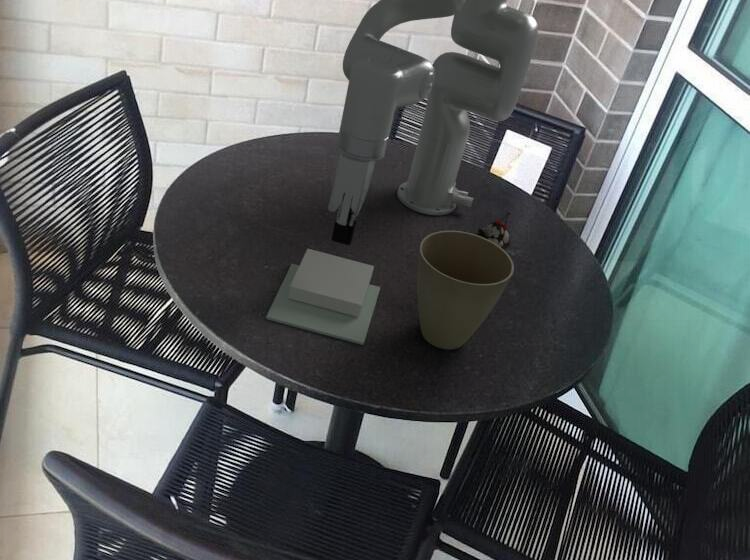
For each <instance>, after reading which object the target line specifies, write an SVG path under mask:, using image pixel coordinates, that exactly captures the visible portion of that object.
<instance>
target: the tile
mask: <svg viewBox="0 0 750 560" xmlns="http://www.w3.org/2000/svg"><path fill="white" fill-rule="evenodd" d="M374 268H375V265H372V264H367V263H363V262H359V261H356V260H353V259H349V258H344V257H342V256H338V255H334V254H330V253H326V252H322V251H319V250H314V249H312V248H311V249H310V248H307V249H306V251H305V253H304V254H303V258H302V259H301V262H300V265H299V268H298V270H297V272H296V275H295V277H294V279H293V281H292V283H291V285H290V290H289V295H288V298H289V299H293V300H296V301H300V302H304V303H307V304H311V305H315V306H319V307H322V308H326V309H330V310H333V311H337V312H341V313H345V314H348V315H352V316H356V317H359V315H360V312H361V309H362V305H363V302H364V299H365V296H366V293H367V290H368V287H369V284H370V283H371V280H372V276H373V272H374ZM370 285H371V284H370Z"/></svg>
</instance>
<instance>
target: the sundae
mask: <svg viewBox="0 0 750 560" xmlns="http://www.w3.org/2000/svg"><path fill="white" fill-rule="evenodd" d="M510 215H511V212H506V215H505V216H504V217H503V218H502V219H495V220H494V221H493V222H489V223H488V224H486V225H485V227H482V228H481V227H478V228H477V230H476V231H475V233H474V234H475V235H478V236H481V237H483V238H485V239H488V240H490V241H491V242H493V243H495V244H496V245H498V246H499V247H501V248H502V249H503V250H504V251H506V250H507V249H509V247H511V246H512V244H513V242H512V240H511V239H510V236H509V232H508V231H507V229H508V225H507V222H508V221H507V220H508V217H509V216H510ZM504 219H505V223H502V221H503V220H504Z"/></svg>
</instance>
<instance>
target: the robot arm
mask: <svg viewBox="0 0 750 560" xmlns="http://www.w3.org/2000/svg"><path fill="white" fill-rule="evenodd" d="M507 1H508V0H378V1H377V2H376V3H375V4H373V5H372V6H371V7H370V8H369V9H368V10H367V11H366V13H365V14H364V15H363V17H362V19H361V20H360V22H359V24H358V26H357V27H356V29H355V32H354V33H353V35H352V37H351V39H350V40H349V43H348V45H347V48H346V50H345V52H344V55H343V60H342V71H343V74H344V77H345V78H346V79H347V80H348V85H347V89H346V95H345V100H344V106H343V112H342V114H341V115H342V116H341V121H340V126H339V132H338V136H337V141H336V142H337V143H336V148H337V149H338V151H339V152H340V156H339V160H338V163H337V168H336V172H335V175H334V180H333V181H334V182H333V185H332V189H331V192H330V199H329V201H328V202H329V203H328V205H327V206H328V207H327V209H328V211H329V212H333V213H335V212H336V211H337V215H336V218H335V220H334V227H333V230H332V235H331V241H332V242H333V243H338V244H341V245H342V244H343V245H346V246H350V245H351V243H352V241H353V238H354V234H355V228H356V224H357V220H356V218H357V217H358V216H359V214H360V211H361V209H362V207H363V204H364V202H365V199H366V196H367V194H368V191H369V188H370V184H371V182H372V178H373V173H374V170H375V164H376V161H379V160H382V159H383V158H384V157H385V155H386V151H387V146H388V142H389V138H390V134H391V129H392V125H393V122H394V121H393V120H394V117H395V112H396V109H397V108H403V107H408V106H413V105H416V104H418V103H420V102H422V101H424V99H425V98H427V99H426V107H425V112H424V116H423V120H422V124H421V127H420V132H419V136H418V140H417V144H416V147H415V151H414V155H413V159H412V163H411V167H410V171H409V175H408V179H407V181H405V182H402V183H401V184H400V185H399V187H398V189H397V193H396V194H397V198H398V200H399V201H400V202H401V203H402V204H403V205H404V206H406V207H407V208H408V209H410V210H413V211H415V212H417V213H420V214H423V215H429V216H444V215H449V214H450V213H452V212H454V211H455V209H456V205H457V204H460V205H462V206H466V207H470V208H471V207H472V204H473V200H474V197H472V196H471V197H470V196H468V194H469V192H468V191H464V190H460V189H458V188H457V187H456V185H457V181H456V180H457V177H458V173H459V171H460V170H459V169H460V166H461V162H462V159H463V156H464V153H465V149H466V146H467V141H468V140H469V139H468V138H469V135H470V130H471V125H470V123H471V122H470V117H469V114H468V112H469V113H473V114H474V115H478V116H480V117H482V118H484V119H488V120H491V121H495V122H503V121H505V120H507V119H509V117H510V116H511V115H512V113H513V112H514V110H515V108H516V105H517V103H518V99H519V96H520V94H521V91H522V88H523V85H524V82H525V79H526V76H527V74H528V73H527V72H528V70H529V66H530V64H531V60H532V58H533V54H534V52H535V49H536V45H537V41H538V34H539V27H538V26H539V25H538V22H537V20H536V19H535V17H533V15H531V14H530V13H528V12H525V11H524V10H523V11H522V10H520V9H516V8H515V7H511V6H509V5H508V2H507ZM447 17H448V18H449V17H453V18H452V22H451V28H450V35H451V36H450V37H451V39H452V41H453V42H454V43H455V44H456V45H457V46H458V47H461V48H463V49H465V50H468V51H470V52H473V53H475V54H478V55H480V56H483V57H486V58H488V59H489V58H490V59H492V60H494V61H497V62H498V63H499V66H497V65H493V64H490V63H488V62H485V61H484V60H480V59H478V58H475V57H472V56H470V55H467V54H464V53H461V52H454V51H451V52H450V51H448V52H443V53H442V54H440V55H439V56H437V57H436V58H435V60H434V61H433V63H432V62H430V61H429V60H428V59H427V58H425V57H423V56H421V55H419V54H416V53H415V52H411V51H408V50H406V49H403V48H401V47H398V46H395V45H393V44H391V43H388V42H385V41H383V40H381V39H382V38H383V36H384V35H385V34H386V33H387V32H389V31H390V30H391V29H393V28H394V27H396V26H398V25H401V24H404V23H407V22H413V21H422V20H429V19H441V18H447Z"/></svg>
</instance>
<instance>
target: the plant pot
mask: <svg viewBox="0 0 750 560" xmlns="http://www.w3.org/2000/svg"><path fill="white" fill-rule="evenodd" d="M514 266H515V265H514V261H513V260H512V258H511V257H510V255H509V254H508V253H507V252H506V250H503V249H502V248H501V247H499V246H498V245H496V244H495V243H493V242H491V241H490V240H488V239H485V238H483V237H481V236H478V235H475V233H470V232H466V231H461V230H460V231H459V230H439V231H436V232H433V233H430V234H428V235H427V236H425V237H424V238H423V239H422V240H421V242H420V244H419V251H418V263H417V275H416V276H417V280H416V281H417V282H416V287H417V290H416V291H417V294H416V295H417V296H416V297H417V307H418V308H417V311H418V317H419V324H420V331H421V335H422V337H423V338H424V340H425V341H426V342H427V343H429V345H432V346H433V347H436V348H439V349H443V350H455V349H459V348H461V347H463V345H464V344H466V342H467V341H468V340H470V338H471V337H472V336H473V335H474V333H475V332H476V331H477V330H478V329H479V327H480V326H481V325H482V324H483V323H484V321H485V320H486V318H487V317H488V315H489V314H490V313H491V312H492V310H493V308H494V307H495V306H496V305H497V303H498V301H499V299H500V298H501V296H502V294H503V292H504V291H505V289H506V287H507V285H508V283H509V282H510V280H511V278H512V277H513V274H514V270H515V267H514Z"/></svg>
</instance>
